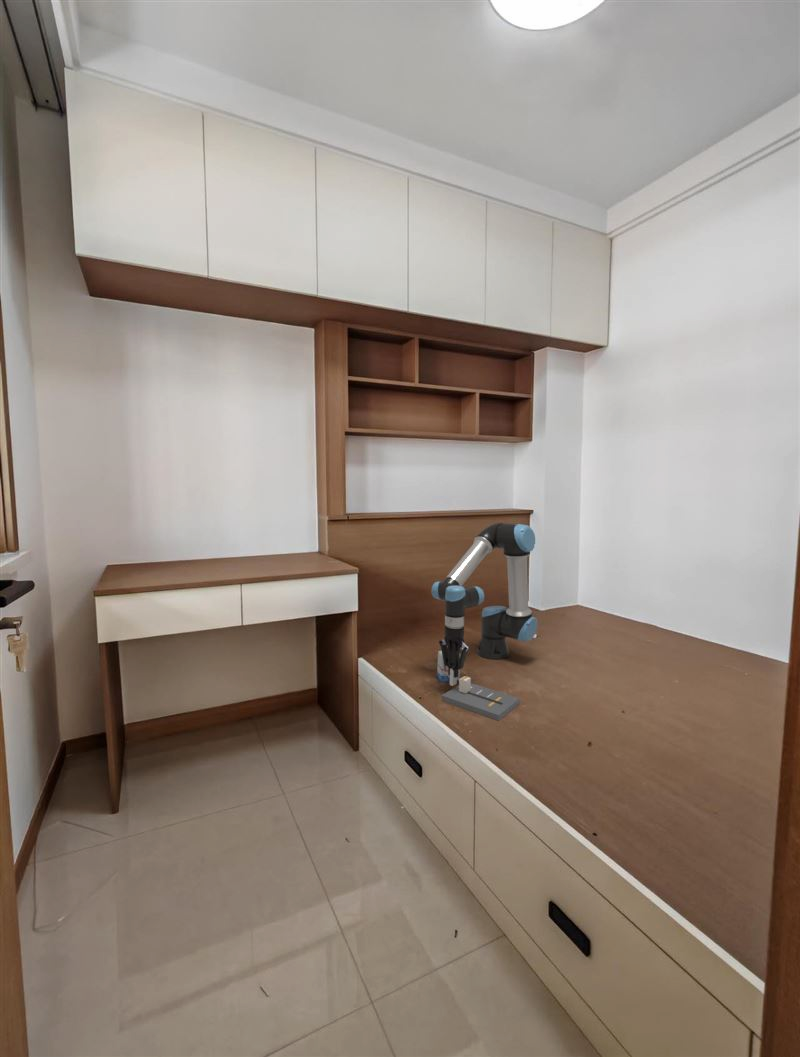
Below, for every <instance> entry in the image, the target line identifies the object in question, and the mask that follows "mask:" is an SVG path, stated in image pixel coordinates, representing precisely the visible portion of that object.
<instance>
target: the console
mask: <svg viewBox="0 0 800 1057" xmlns="http://www.w3.org/2000/svg"><path fill="white" fill-rule="evenodd" d="M441 701H442V702H445V703H447V704H450V705H453V706H456V707H459V708H462V709H463V710H464V709H465V710H467V711H470V712H473V713H475V714H479V715H482V716H485V717H487V718H490V719H492V720H495V721H498V722H499V721H500V720H501V719H502V718H504V717H505V716H506V715H507V714H509V713H510V712H511V711H512V710H514V709H515V708H517V706H519V705H520V704H521V698H520V697H516V696H514V695H510V694H507V693H504V692H501V691H497V690H494V689H491V688H489V687H485V686H481V685H478V684H476V683H472V682H471V690H470V691H469V692H467V693H466V694H465V693H462V692H459V684H458V685H455V687H453V688H451V689H450V690H448V691H447V692H445V693H443V694H442V695H441Z"/></svg>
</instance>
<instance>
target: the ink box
mask: <svg viewBox="0 0 800 1057" xmlns="http://www.w3.org/2000/svg"><path fill="white" fill-rule="evenodd" d="M460 655H461V653H460ZM459 659H460V657H459ZM436 668H437V670H436V672H437V674H436V677H437V679H438V680H439V681H440V682H441V683H443V682H444V683H445V682H450V676H449V675H448V667H447V666H445V665H444V661H443V655H442V650H439V651H437V666H436ZM460 675H461V669H459V672H458V677H457V681H459V679H460V678H461V676H460Z"/></svg>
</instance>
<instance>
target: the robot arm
mask: <svg viewBox="0 0 800 1057" xmlns="http://www.w3.org/2000/svg"><path fill="white" fill-rule="evenodd" d="M535 545H536V535H535V532H534V530H533V529H532V528H531V526H530V525H526V524H522V523H507V522H496V523H493V524H490V525H489V526H487V527H485V528H483V530H481V531H480V532H478V534H477V535H476V536H475V538H474V539H473V544H472V545H471V546H470V547H469V549H467V551H466V552H465V553H464V554H463V556H462V557H461V558H460V559H459V561H458V562H457V563H456V565H454V567H453V568H452V569H451V571H450V572H449V573H448V574H447V576H446V577H445V578H444V580H443V581H436V582H433V584H432V586H431V591H430V592H431V595H432V597H433V599H437V600H439V601H441V602H442V601H444V603H445V604H444V610H445V611H444V638H443V639H441V640H438V643H439V646H440V649H441V650H440V651H442V655H443V661H444V665H445V666H447V667H448V675H449V676H450V681H449V686H452V687H453V686H456V685H457V681H458V680H457V677H458V672H459V669H460V670H461V669H463V668H464V666H465V662H466V657H467V654H468V651H469V650H470V646H469V645H467V644H466V643H465V640H464V636H465V627H464V626H465V609H466V610H467V609H469V608H472V607H477V606H479V605H481V604H483V603H484V601H485V593H484V590H483V588H482V587H479V586H471V587H468V586H464V583H465V582H466V581H467V580H468V579H469V577H470V576H471V575H472V573H473V572H474V571H475V569H477V567H478V566H479V564H480V563H481V562H482V561H483V559H485V557H486V556H487V554H490V553H492V551H494V550H495V549H501V550H503V555H504V556H505V557H506V563H507V564H506V565H507V582H508V583H507V584H508V585H507V586H508V588H507V590H508V607H506V606H504V605H492V606H486V607H484V608H483V609H482V612H481V628H480V629H481V631H480V633H481V635H480V636H481V638H480V639H479V643H478V646H477V649H476V651H477V652H476V653H477V655H478V656H480V657H482V658H485V659H489V660H503V659H506V658H508V657H509V655H510V649H509V645H508V643H507V638H510V639H513V640H516V641H519V642H529V641H531V640H533V638H534V637H535V635H536V634H537V633H536V632H537V629H538V624H539V623H538V620H537V618H536V617H534V616H533V611H532V609H531V608H529V589H528V586H529V583H528V582H529V581H528V557H529V556H530V555H531V553H532V551H533V550H534V549H535ZM460 654H461V655H460ZM459 657H460V659H459Z"/></svg>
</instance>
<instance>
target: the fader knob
mask: <svg viewBox="0 0 800 1057" xmlns="http://www.w3.org/2000/svg"><path fill="white" fill-rule="evenodd" d="M471 683H472V677H469V675H466V676H465V675H464V676H461V677H460V679H459V680H458V685H459V692H462V693H465V694H466V693H467V692H469V691H470V690H471Z"/></svg>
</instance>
